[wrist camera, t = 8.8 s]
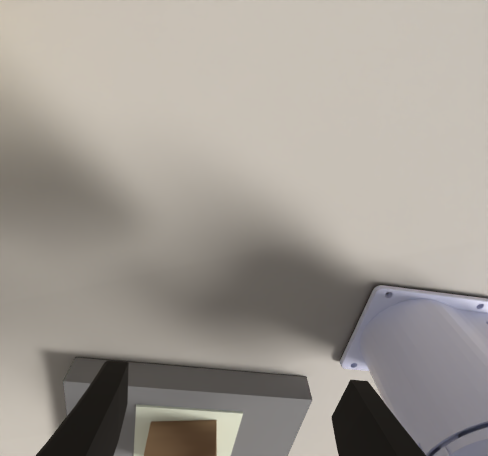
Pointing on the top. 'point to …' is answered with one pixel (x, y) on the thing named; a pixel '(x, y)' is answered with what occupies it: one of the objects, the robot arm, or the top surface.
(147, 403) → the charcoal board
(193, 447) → the walnut cube
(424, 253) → the top surface
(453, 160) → the top surface
